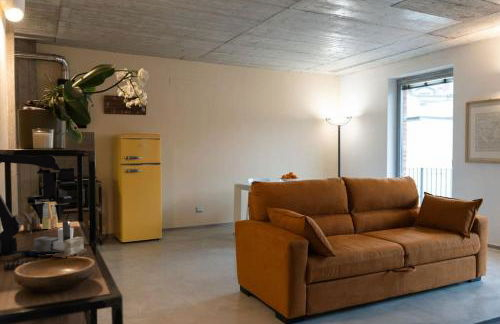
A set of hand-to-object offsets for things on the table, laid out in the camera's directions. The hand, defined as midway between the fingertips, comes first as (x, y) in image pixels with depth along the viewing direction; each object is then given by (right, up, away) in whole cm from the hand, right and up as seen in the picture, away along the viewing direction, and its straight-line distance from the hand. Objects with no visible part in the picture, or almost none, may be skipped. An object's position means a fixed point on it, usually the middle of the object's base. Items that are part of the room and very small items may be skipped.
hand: (50, 219), depth 178 cm
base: (+6, -13, -7) cm, 16 cm away
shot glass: (+1, -13, +12) cm, 18 cm away
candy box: (-25, -13, +51) cm, 58 cm away
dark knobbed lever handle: (+8, -11, -8) cm, 16 cm away
